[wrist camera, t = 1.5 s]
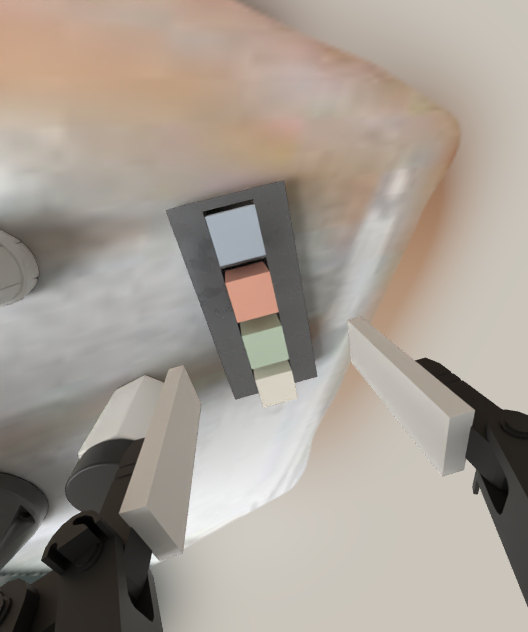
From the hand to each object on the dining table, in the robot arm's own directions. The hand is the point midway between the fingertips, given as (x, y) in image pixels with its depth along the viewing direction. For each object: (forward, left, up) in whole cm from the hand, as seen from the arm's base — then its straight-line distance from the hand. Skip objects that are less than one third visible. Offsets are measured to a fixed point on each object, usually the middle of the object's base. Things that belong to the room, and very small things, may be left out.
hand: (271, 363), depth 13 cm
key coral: (0, 0, -15) cm, 15 cm away
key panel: (-2, -2, -17) cm, 18 cm away
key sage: (-3, -4, -15) cm, 16 cm away
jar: (-22, 0, -18) cm, 28 cm away
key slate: (+3, +4, -15) cm, 16 cm away
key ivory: (-7, -9, -15) cm, 19 cm away
